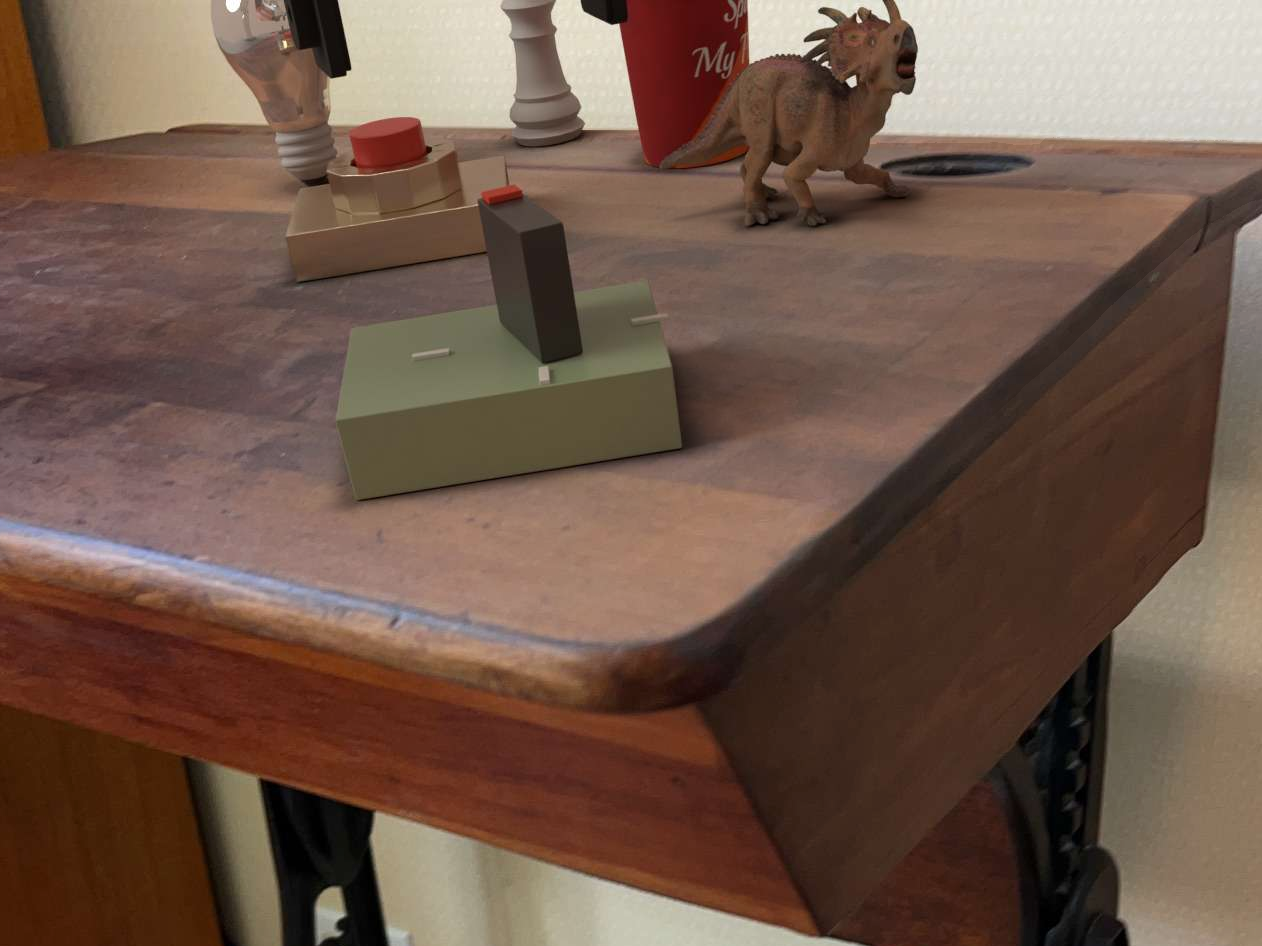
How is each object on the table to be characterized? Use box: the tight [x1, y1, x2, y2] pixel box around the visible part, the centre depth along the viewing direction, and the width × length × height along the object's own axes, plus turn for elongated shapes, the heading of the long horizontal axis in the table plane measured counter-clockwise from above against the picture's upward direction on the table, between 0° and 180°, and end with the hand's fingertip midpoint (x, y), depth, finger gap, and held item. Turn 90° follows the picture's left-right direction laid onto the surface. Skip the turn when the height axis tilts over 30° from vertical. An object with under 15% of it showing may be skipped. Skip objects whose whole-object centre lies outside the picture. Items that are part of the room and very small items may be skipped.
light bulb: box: [210, 0, 338, 186], centre depth 93 cm, size 7×7×12 cm
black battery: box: [477, 184, 583, 363], centre depth 60 cm, size 6×2×5 cm, turn 21°
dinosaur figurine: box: [659, 0, 919, 227], centre depth 77 cm, size 14×6×9 cm, turn 63°
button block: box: [284, 136, 511, 283], centre depth 84 cm, size 11×9×4 cm
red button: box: [348, 116, 427, 168], centre depth 82 cm, size 4×4×2 cm
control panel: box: [335, 280, 683, 501], centre depth 62 cm, size 12×10×3 cm
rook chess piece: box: [499, 0, 586, 147], centre depth 95 cm, size 4×4×8 cm
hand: (471, 43), depth 56 cm, fingers open, 9 cm apart
